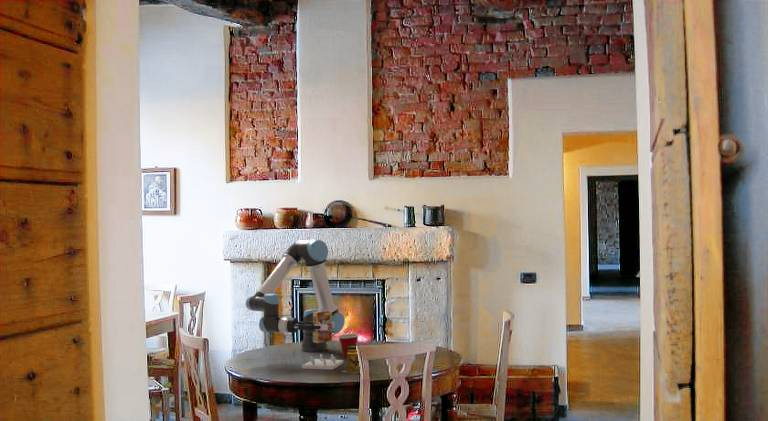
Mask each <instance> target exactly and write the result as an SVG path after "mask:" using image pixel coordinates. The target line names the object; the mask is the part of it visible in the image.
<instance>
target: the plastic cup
mask: <svg viewBox="0 0 768 421" xmlns="http://www.w3.org/2000/svg"><path fill="white" fill-rule="evenodd" d="M358 336H359V334H358V333H346V334H345V333H344V334H341V335H338V337H337V338H338V339H339V341H340V345H341V347H340V348H341V351H342V357H343V358H344V359H347V352H348V346H357V342H358Z"/></svg>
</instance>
